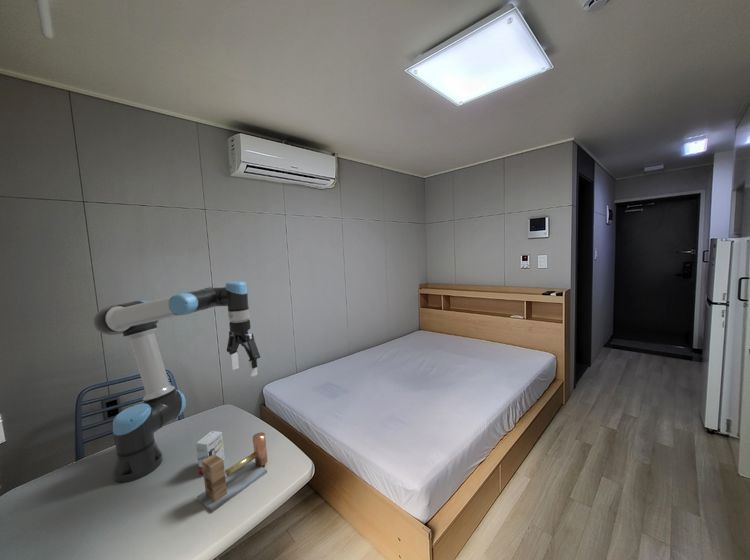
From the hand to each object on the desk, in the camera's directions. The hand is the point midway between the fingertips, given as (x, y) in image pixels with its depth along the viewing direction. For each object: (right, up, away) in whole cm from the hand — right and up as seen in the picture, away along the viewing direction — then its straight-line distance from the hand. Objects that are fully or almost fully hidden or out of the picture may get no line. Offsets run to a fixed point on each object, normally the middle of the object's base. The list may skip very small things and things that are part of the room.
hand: (244, 372), depth 121 cm
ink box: (-10, -35, -5) cm, 37 cm away
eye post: (+3, -35, -15) cm, 38 cm away
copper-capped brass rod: (+6, -33, -11) cm, 35 cm away
